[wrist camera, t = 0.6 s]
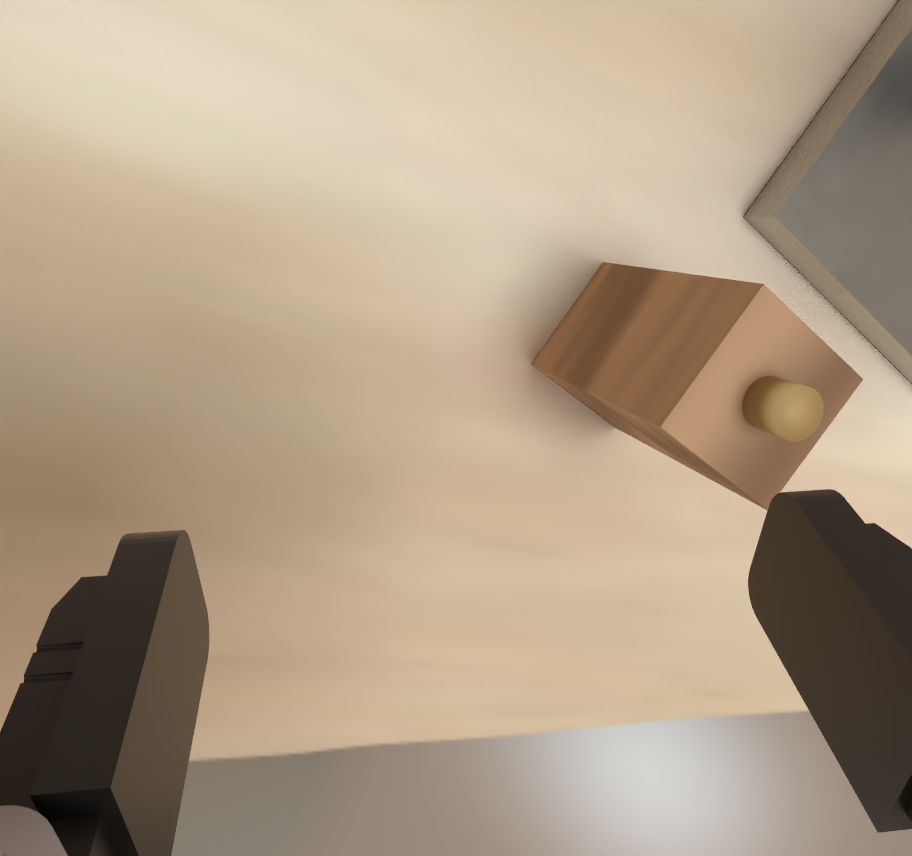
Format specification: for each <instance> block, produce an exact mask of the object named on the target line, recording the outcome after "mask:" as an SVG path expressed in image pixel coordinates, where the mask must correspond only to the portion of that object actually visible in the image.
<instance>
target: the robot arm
mask: <svg viewBox="0 0 912 856" xmlns="http://www.w3.org/2000/svg"><path fill="white" fill-rule="evenodd" d="M748 588H749V596H750V601H751V604H752V608H753V610H754V613H755V615H756V617H757V619H758V620H759V622H760V624H761V626H762V628H763V629H764V631H765V633H766V635H767V636H768V638H769V640H770V642H771V644H772V645H773V647H774V649H775V651H776V652H777V654H778V656H779V658H780V660H781V661H782V663H783V665H784V667H785V668H786V670H787V672H788V674H789V676H790V677H791V679H792V681H793V683H794V684H795V686H796V688H797V690H798V691H799V693H800V695H801V697H802V699H803V700H804V702H805V704H806V706H807V707H808V709H809V711H810V713H811V715H812V716H813V718H814V720H815V722H816V723H817V725H818V727H819V729H820V731H821V732H822V734H823V736H824V738H825V739H826V741H827V743H828V745H829V746H830V748H831V750H832V752H833V753H834V755H835V757H836V759H837V761H838V762H839V764H840V766H841V768H842V770H843V771H844V773H845V775H846V777H847V778H848V780H849V782H850V784H851V786H852V787H853V789H854V791H855V793H856V794H857V796H858V798H859V800H860V802H861V803H862V805H863V807H864V809H865V810H866V812H867V814H868V816H869V817H870V819H871V821H872V823H873V825H874V826H875V828H876V830H877V832H888V831H897V830H906V829H912V549H911V548H910V547H909V546H907V545H906V544H904V543H903V542H901V541H900V540H898V539H897V538H896V537H894V536H893V535H891V534H890V533H888V532H887V531H885V530H884V529H882V528H881V527H879V526H878V525H876V524H875V523H871V524H865V523H864V521H863V520H862V519H861V518H860V517H859V515H858V514H857V513H856V512H855V510H854V509H853V508H852V507H851V506H850V504H849V503H848V502H847V501H846V499H845V498H844V497H843V496H842V495H841V494H840V493H838V492H837V491H835V490H830V489H828V490H812V491H797V492H782V493H778V494H776V495H775V496H774V497H773V498H772V500H771V502H770V505H769V508H768V511H767V514H766V518H765V521H764V524H763V527H762V531H761V534H760V537H759V541H758V544H757V547H756V551H755V554H754V557H753V561H752V564H751V567H750V571H749V578H748ZM36 646H37V651H36V653H33V655H32V657H31V660H30V662H29V665H28V667H27V669H26V672H25V674H24V683H21V684H20V686H19V689H18V691H17V693H16V696H15V698H14V701H13V703H12V705H11V708H10V710H9V713H8V715H7V717H6V720H5V722H4V725H3V727H2V729H1V732H0V856H171V852H172V848H173V842H174V837H175V831H176V826H177V820H178V815H179V810H180V804H181V799H182V793H183V788H184V783H185V778H186V772H187V767H188V761H189V756H190V751H191V745H192V740H193V734H194V729H195V724H196V718H197V713H198V707H199V702H200V697H201V691H202V686H203V681H204V675H205V670H206V664H207V659H208V651H209V621H208V613H207V608H206V604H205V600H204V596H203V592H202V587H201V583H200V579H199V575H198V571H197V567H196V563H195V558H194V554H193V550H192V546H191V542H190V539H189V536H188V534H187V532H186V531H184V530H179V531H163V532H148V533H133V534H125V535H124V536H123V537H122V538H121V540H120V542H119V544H118V547H117V550H116V553H115V556H114V558H113V561H112V564H111V567H110V570H109V572H108V575H107V576H95V577H81V578H80V580H79V581H78V582H77V583H76V584H75V585H74V586H73V587H72V588H71V589H70V590H69V591H68V592H67V593H66V594H65V596H64V597H63V598H62V599H61V600H60V601H59V602H58V603H57V604H56V605H55V606H54V607H53V608H52V609H51V612H50V614H49V617H48V619H47V621H46V624H45V626H44V629H43V631H42V633H41V636H40V638H39V641H38V643H37V645H36Z"/></svg>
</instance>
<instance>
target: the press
mask: <svg viewBox="0 0 912 856" xmlns="http://www.w3.org/2000/svg"><path fill="white" fill-rule="evenodd" d="M744 218H745V219H746V220H747V221H748V222H749V223H750V224H751V225H753V226H754V227H755V228H756V229H757V230H758V231H759V232H760V233H761V234H762V235H763V236H764V237H765V238H766V239H767V240H768V241H769V242H770V243H771V244H772V245H773V246H774V247H775V248H776V249H777V250H778V251H779V252H780V253H781V254H782V255H783V256H784V257H785V258H786V259H787V260H788V261H789V262H790V263H791V264H792V265H793V266H794V267H795V268H796V269H797V270H798V271H799V272H800V273H801V274H802V275H803V276H804V277H805V278H806V279H807V280H808V281H809V282H810V283H811V284H812V285H813V286H814V287H815V288H816V289H817V290H818V291H819V292H820V293H821V294H822V295H823V296H824V297H825V298H826V299H827V300H828V301H829V302H830V303H831V304H832V305H833V306H834V307H835V308H836V309H837V310H838V311H839V312H840V313H841V314H842V315H843V316H844V317H845V318H846V319H847V320H848V321H849V322H850V323H851V324H852V325H853V326H854V327H855V328H856V329H857V330H858V331H859V332H860V333H861V334H862V335H863V336H864V337H865V338H866V339H868V340H869V341H870V342H871V343H872V344H873V345H874V346H875V347H876V348H877V349H878V350H879V351H880V352H881V353H882V354H883V355H884V356H885V357H886V358H887V359H888V360H889V361H890V362H891V363H892V364H893V365H894V366H895V367H896V368H897V369H898V370H899V371H900V372H901V373H902V374H903V375H904V376H905V377H906V378H907V379H908V380H909V381H910V382H911V383H912V0H899V1H898V3H897V4H896V5H895V7H894V8H893V10H892V11H891V12H890V14H889V15H888V16H887V18H886V19H885V21H884V22H883V23H882V25H881V26H880V28H879V29H878V30H877V32H876V33H875V35H874V36H873V37H872V39H871V40H870V42H869V43H868V44H867V46H866V47H865V48H864V50H863V51H862V53H861V54H860V55H859V57H858V58H857V60H856V61H855V62H854V64H853V65H852V67H851V68H850V69H849V71H848V72H847V74H846V75H845V76H844V78H843V79H842V81H841V82H840V83H839V85H838V86H837V87H836V89H835V90H834V92H833V93H832V94H831V96H830V97H829V99H828V100H827V101H826V103H825V104H824V106H823V107H822V108H821V110H820V111H819V113H818V114H817V115H816V117H815V118H814V119H813V121H812V122H811V124H810V125H809V126H808V128H807V129H806V131H805V132H804V133H803V135H802V136H801V138H800V139H799V140H798V142H797V143H796V145H795V146H794V147H793V149H792V150H791V151H790V153H789V154H788V156H787V157H786V158H785V160H784V161H783V163H782V164H781V165H780V167H779V168H778V170H777V171H776V172H775V174H774V175H773V177H772V178H771V179H770V181H769V182H768V184H767V185H766V186H765V188H764V189H763V190H762V192H761V193H760V195H759V196H758V197H757V199H756V200H755V202H754V203H753V204H752V206H751V207H750V209H749V210H748V211H747V213H746V214H745V216H744Z"/></svg>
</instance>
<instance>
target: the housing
mask: <svg viewBox="0 0 912 856" xmlns="http://www.w3.org/2000/svg"><path fill="white" fill-rule="evenodd" d="M532 365H533V366H535V367H536V368H537V369H539V370H540V371H541V372H543V373H544V374H545V375H547V376H548V377H549V378H551V379H552V380H553V381H555V382H556V383H557V384H559V385H560V386H561V387H562V388H564V389H565V390H566V391H568V392H569V393H570V394H572V395H573V396H574V397H576V398H577V399H578V400H580V401H581V402H582V403H584V404H585V405H586V406H588V407H589V408H590V409H592V410H593V411H594V412H596V413H597V414H598V415H600V416H601V417H602V418H604V419H605V420H606V421H608V422H609V423H610V424H612V425H613V426H614V427H616V428H617V429H619V430H621V431H623V432H625V433H626V434H628V435H630V436H632V437H634V438H636V439H637V440H639V441H641V442H643V443H645V444H647V445H648V446H650V447H652V448H654V449H656V450H658V451H659V452H661V453H663V454H665V455H667V456H669V457H671V458H672V459H674V460H676V461H678V462H680V463H682V464H683V465H685V466H687V467H689V468H691V469H693V470H694V471H696V472H698V473H700V474H702V475H704V476H705V477H707V478H709V479H711V480H713V481H715V482H716V483H718V484H720V485H722V486H724V487H726V488H727V489H729V490H731V491H733V492H735V493H737V494H739V495H740V496H742V497H744V498H746V499H748V500H750V501H751V502H753V503H755V504H757V505H759V506H761V507H762V508H764V509H766V510H767V509H768V508H769V505H770V502H771V500H772V498H773V497H774V496H775V495H776V494H778V493H780V491H781V490H782V489H783V487H784V486H785V485H786V483H787V482H788V481H789V479H790V478H791V477H792V475H793V474H794V472H795V471H796V470H797V468H798V467H799V466H800V464H801V463H802V462H803V460H804V459H805V458H806V456H807V455H808V453H809V452H810V451H811V449H812V448H813V447H814V445H815V444H816V443H817V441H818V440H819V439H820V437H821V436H822V434H823V433H824V432H825V430H826V429H827V428H828V426H829V425H830V424H831V422H832V421H833V420H834V418H835V417H836V415H837V414H838V413H839V411H840V410H841V409H842V407H843V406H844V405H845V403H846V402H847V401H848V399H849V398H850V396H851V395H852V394H853V392H854V391H855V390H856V388H857V387H858V386H859V384H860V383H861V382H862V380H863V379H862V378H861V377H860V376H859V375H858V374H857V373H856V372H855V371H854V370H853V369H852V368H851V367H850V366H849V365H848V364H847V363H846V362H845V361H844V360H843V359H841V358H840V357H839V356H838V355H837V354H836V353H835V352H834V351H833V350H832V349H831V348H830V347H829V346H828V345H827V344H826V343H825V342H824V341H823V340H822V339H821V338H819V337H818V336H817V335H816V334H815V333H814V332H813V331H812V330H811V329H810V328H809V327H808V326H807V325H806V324H805V323H804V322H803V321H802V320H801V319H800V318H799V317H797V316H796V315H795V314H794V313H793V312H792V311H791V310H790V309H789V308H788V307H787V306H786V305H785V304H784V303H783V302H782V301H781V300H780V299H779V298H778V297H777V296H775V295H774V294H773V293H772V292H771V291H770V290H769V289H768V288H767V287H766V286H765V285H764V284H758V283H751V282H743V281H736V280H729V279H721V278H714V277H707V276H700V275H692V274H685V273H678V272H670V271H663V270H656V269H648V268H641V267H634V266H627V265H619V264H612V263H605V262H603V264H602V265H601V266H600V268H599V269H598V271H597V272H596V273H595V275H594V276H593V278H592V279H591V280H590V282H589V283H588V285H587V286H586V288H585V289H584V290H583V292H582V293H581V295H580V296H579V297H578V299H577V300H576V302H575V303H574V304H573V306H572V307H571V309H570V310H569V311H568V313H567V314H566V316H565V317H564V319H563V320H562V321H561V323H560V324H559V326H558V327H557V328H556V330H555V331H554V333H553V334H552V335H551V337H550V338H549V340H548V341H547V342H546V344H545V345H544V347H543V348H542V349H541V351H540V352H539V354H538V355H537V357H536V358H535V359H534V361H533V362H532Z"/></svg>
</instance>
